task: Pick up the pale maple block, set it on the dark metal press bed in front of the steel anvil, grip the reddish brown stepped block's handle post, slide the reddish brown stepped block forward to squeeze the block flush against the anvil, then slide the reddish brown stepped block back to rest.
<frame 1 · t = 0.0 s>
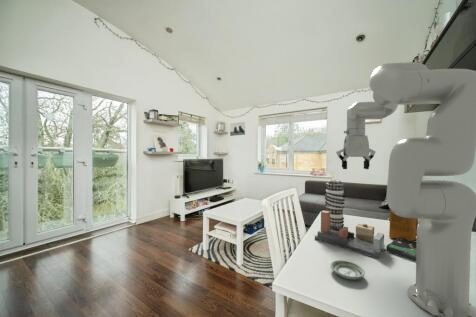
hand: (355, 169, 95), 31 cm above the table, tool pointing down, fingers open, 9 cm apart
disk drive: (408, 252, 79), on the table
saucer: (346, 275, 64), on the table
decorative candle: (334, 230, 101), on the table
reddish brown stepped block: (333, 224, 90), point 7 cm above the table, slide at 0.0 cm
press bed: (347, 243, 86), on the table
maple block: (364, 239, 90), on the table
coffee package: (403, 238, 91), on the table
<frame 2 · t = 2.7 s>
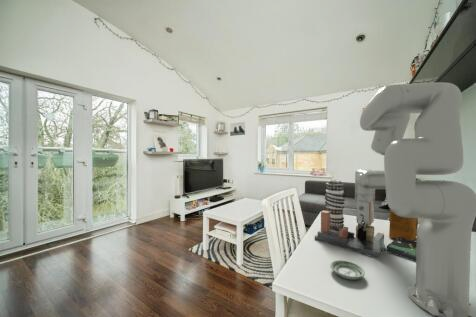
hand: (364, 236, 90), 2 cm above the table, tool pointing down, fingers open, 8 cm apart
nothing on the table moved.
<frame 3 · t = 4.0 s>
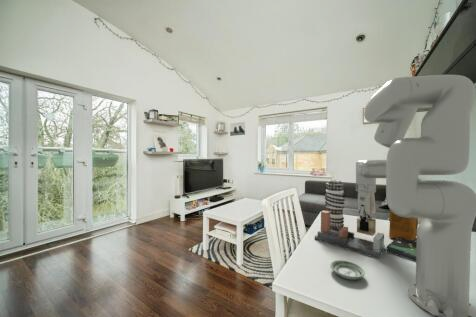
hand: (365, 228, 89), 5 cm above the table, tool pointing down, fingers closed on maple block, 5 cm apart
maple block: (366, 232, 89), point 3 cm above the table, touching gripper
everything else where it was.
when the fingers open (3 cm above the table, at t = 8.2 s): maple block stays where it is, resting on press bed.
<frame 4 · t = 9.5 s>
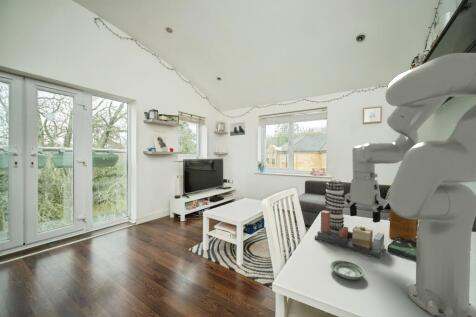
hand: (364, 218, 81), 12 cm above the table, tool pointing down, fingers open, 9 cm apart
maple block: (362, 244, 82), point 1 cm above the table, touching press bed
everything else where it was.
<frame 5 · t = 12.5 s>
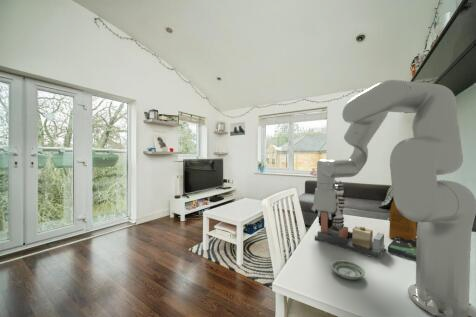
hand: (325, 225, 92), 5 cm above the table, tool pointing down, fingers closed on reddish brown stepped block, 3 cm apart
reddish brown stepped block: (333, 224, 90), point 7 cm above the table, slide at 0.0 cm, touching gripper
everything else where it was.
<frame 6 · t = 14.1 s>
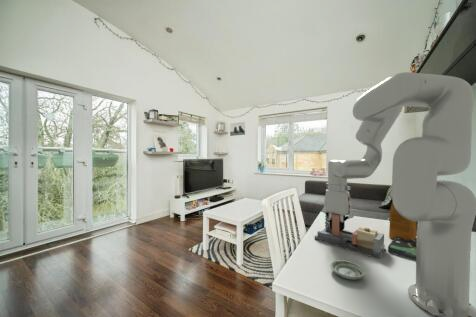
hand: (336, 228, 89), 5 cm above the table, tool pointing down, fingers closed on reddish brown stepped block, 3 cm apart
reddish brown stepped block: (345, 227, 86), point 7 cm above the table, slide at 5.0 cm, touching gripper, maple block
maple block: (366, 245, 81), point 2 cm above the table, touching press bed, reddish brown stepped block
everything else where it was.
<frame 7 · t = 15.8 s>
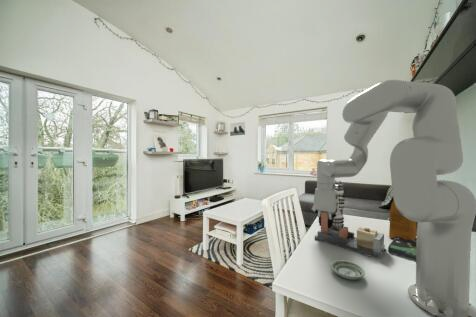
hand: (325, 225, 92), 5 cm above the table, tool pointing down, fingers closed on reddish brown stepped block, 3 cm apart
reddish brown stepped block: (333, 224, 90), point 7 cm above the table, slide at 0.0 cm, touching gripper
maple block: (366, 245, 81), point 1 cm above the table, touching press bed
everything else where it was.
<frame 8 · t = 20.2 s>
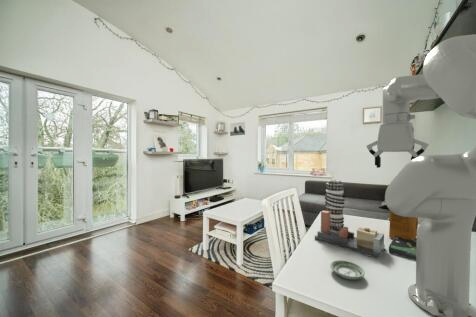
hand: (394, 168, 71), 33 cm above the table, tool pointing down, fingers open, 9 cm apart
reddish brown stepped block: (333, 224, 90), point 7 cm above the table, slide at 0.0 cm
everything else where it was.
at the end: maple block 0.4 cm from the target spot on the press bed, point 1.5 cm above the press bed's base; maple block tilted 0°; reddish brown stepped block slide at 0.0 cm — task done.
